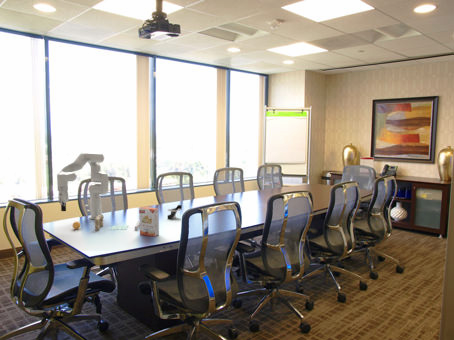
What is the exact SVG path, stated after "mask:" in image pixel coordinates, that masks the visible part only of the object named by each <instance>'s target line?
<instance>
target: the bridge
mask: <svg viewBox="0 0 454 340" xmlns="http://www.w3.org/2000/svg"><path fill="white" fill-rule="evenodd" d="M103 216H104V214H102V215H98V216H97V217H96V218H95V219H94V231H97V232H98V231H100V227H101V228H103V227H104V217H103Z"/></svg>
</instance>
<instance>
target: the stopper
mask: <svg viewBox="0 0 454 340" xmlns="http://www.w3.org/2000/svg"><path fill="white" fill-rule="evenodd" d="M139 229H140V220H138V221H137V222H136V224H135V226H134V230H135V231H138V230H139Z"/></svg>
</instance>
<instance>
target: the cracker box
mask: <svg viewBox="0 0 454 340" xmlns="http://www.w3.org/2000/svg"><path fill="white" fill-rule="evenodd" d="M159 213H160V212H159V208H157V207H147V206H143V207H142V206H141V207H139V210H138V214H139V216H138V217H139V221H140V226H139V235H141V236H148V237H156V236H159V235H160V231H159V230H160V225H159V222H160V221H159V220H160V218H159Z"/></svg>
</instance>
